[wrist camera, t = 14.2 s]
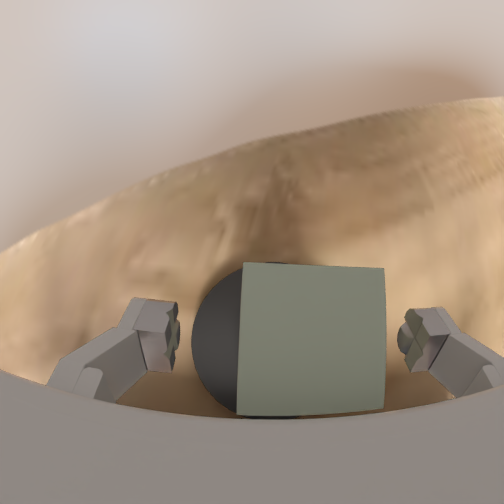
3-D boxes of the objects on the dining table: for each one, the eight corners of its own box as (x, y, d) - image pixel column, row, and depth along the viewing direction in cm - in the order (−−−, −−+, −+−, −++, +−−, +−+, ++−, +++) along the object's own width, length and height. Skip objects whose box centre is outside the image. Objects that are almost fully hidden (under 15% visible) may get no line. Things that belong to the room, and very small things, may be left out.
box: (240, 304, 17) (243, 261, 8) (312, 307, 17) (383, 268, 8) (237, 377, 16) (236, 414, 7) (310, 378, 16) (383, 408, 7)
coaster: (277, 236, 19) (279, 231, 18) (375, 343, 17) (381, 343, 16) (162, 333, 17) (158, 332, 16) (266, 446, 15) (267, 451, 14)
